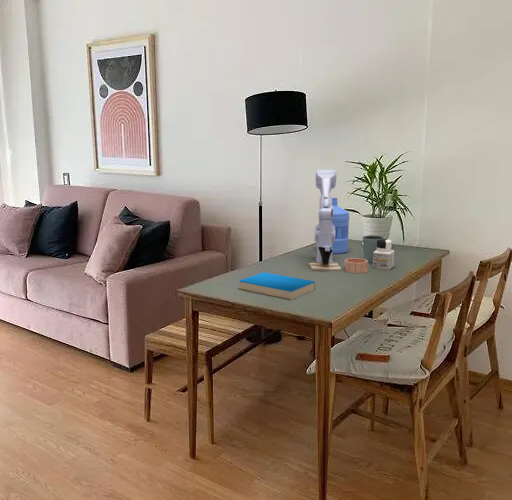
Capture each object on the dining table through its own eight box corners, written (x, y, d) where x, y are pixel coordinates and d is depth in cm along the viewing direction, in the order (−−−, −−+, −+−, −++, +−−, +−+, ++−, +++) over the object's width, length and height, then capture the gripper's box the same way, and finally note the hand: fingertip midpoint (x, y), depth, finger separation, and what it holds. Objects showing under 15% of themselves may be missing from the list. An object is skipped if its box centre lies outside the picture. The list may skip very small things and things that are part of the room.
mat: (306, 265, 250) (306, 263, 250) (338, 264, 250) (338, 263, 250) (310, 272, 235) (310, 271, 235) (344, 272, 235) (344, 271, 235)
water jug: (313, 249, 285) (314, 197, 279) (340, 247, 289) (341, 196, 284) (325, 255, 270) (326, 200, 264) (353, 253, 275) (355, 199, 269)
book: (291, 290, 195) (238, 279, 210) (291, 302, 196) (238, 290, 211) (315, 280, 209) (264, 271, 223) (315, 291, 210) (264, 280, 224)
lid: (309, 264, 249) (309, 254, 248) (336, 263, 249) (336, 253, 248) (312, 271, 236) (312, 260, 235) (341, 270, 236) (341, 260, 235)
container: (372, 268, 242) (373, 240, 240) (377, 264, 249) (378, 237, 246) (389, 270, 239) (390, 241, 236) (393, 266, 245) (394, 238, 243)
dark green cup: (382, 259, 260) (383, 235, 258) (384, 264, 250) (386, 239, 248) (361, 259, 261) (361, 235, 259) (363, 263, 251) (363, 238, 249)
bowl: (342, 268, 242) (343, 258, 241) (364, 268, 242) (365, 257, 241) (346, 274, 232) (347, 263, 231) (369, 274, 232) (370, 263, 231)
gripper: (314, 231, 246) (314, 260, 249) (318, 237, 232) (318, 267, 235) (329, 231, 246) (329, 259, 249) (334, 236, 232) (334, 267, 235)
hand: (324, 263), depth 242 cm, fingers closed on lid, 3 cm apart
